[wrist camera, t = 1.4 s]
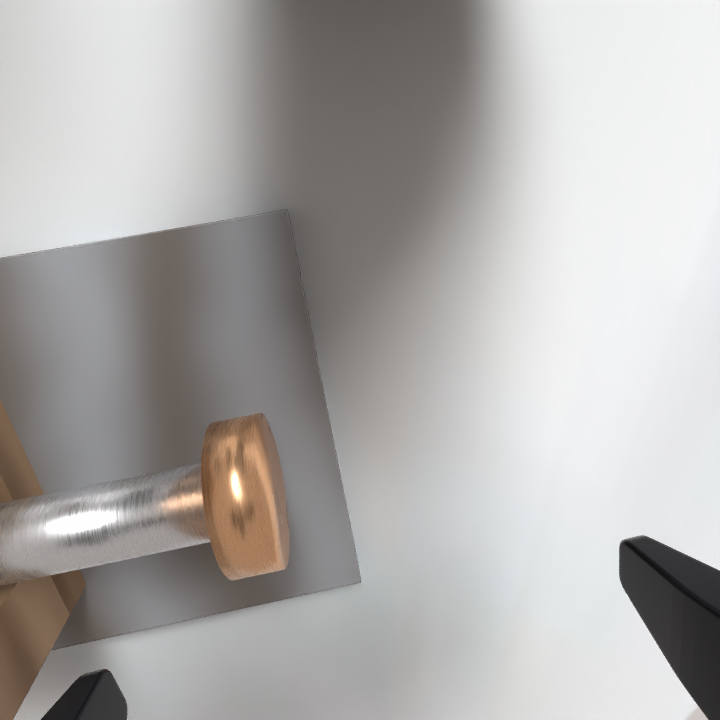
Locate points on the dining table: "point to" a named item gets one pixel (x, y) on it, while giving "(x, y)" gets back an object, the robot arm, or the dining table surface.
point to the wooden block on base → (159, 418)
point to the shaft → (161, 512)
